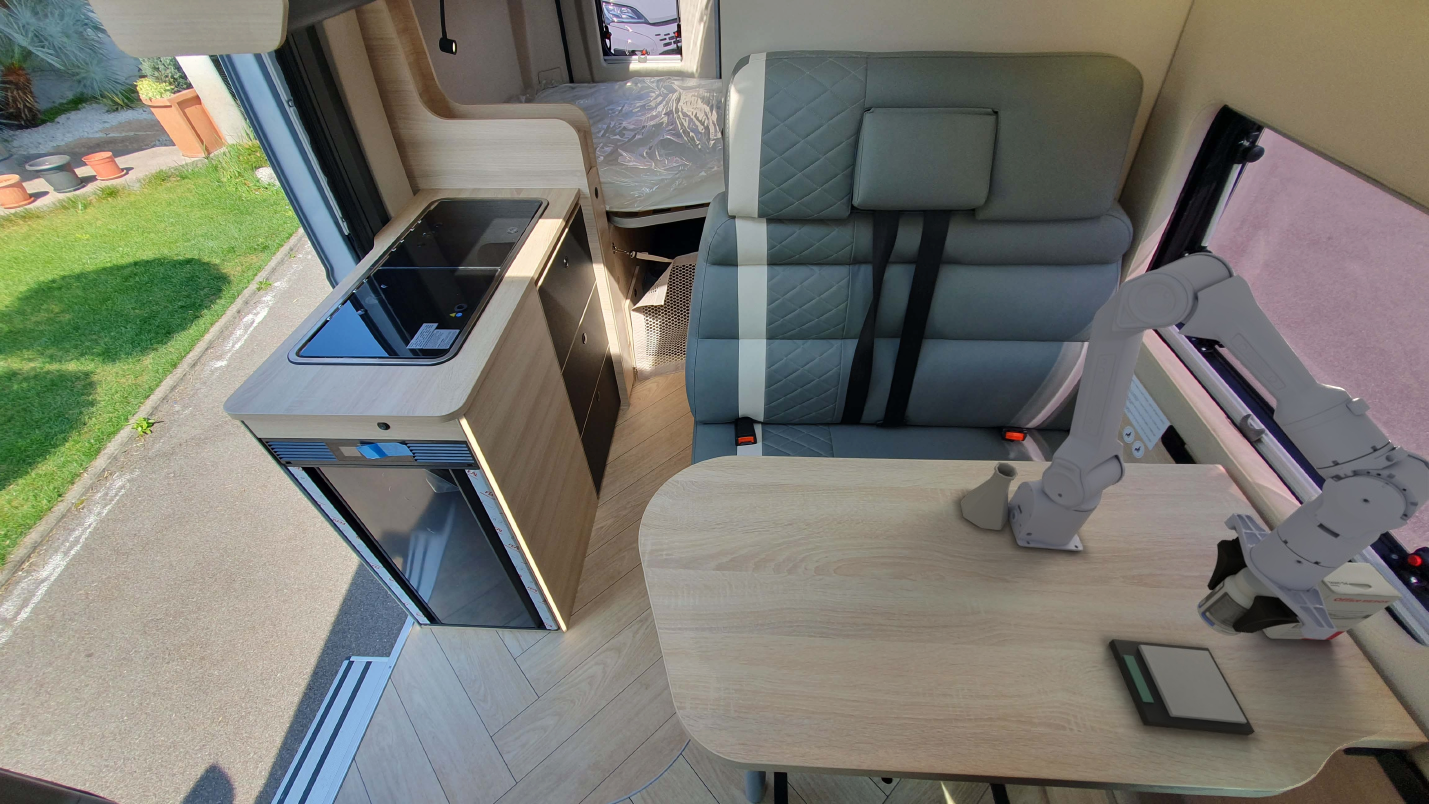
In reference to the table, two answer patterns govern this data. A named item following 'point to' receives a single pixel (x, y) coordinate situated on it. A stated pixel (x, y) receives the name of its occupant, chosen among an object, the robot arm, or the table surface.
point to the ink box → (1346, 599)
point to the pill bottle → (1231, 601)
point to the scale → (1179, 687)
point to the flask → (990, 499)
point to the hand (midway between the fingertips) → (1229, 608)
